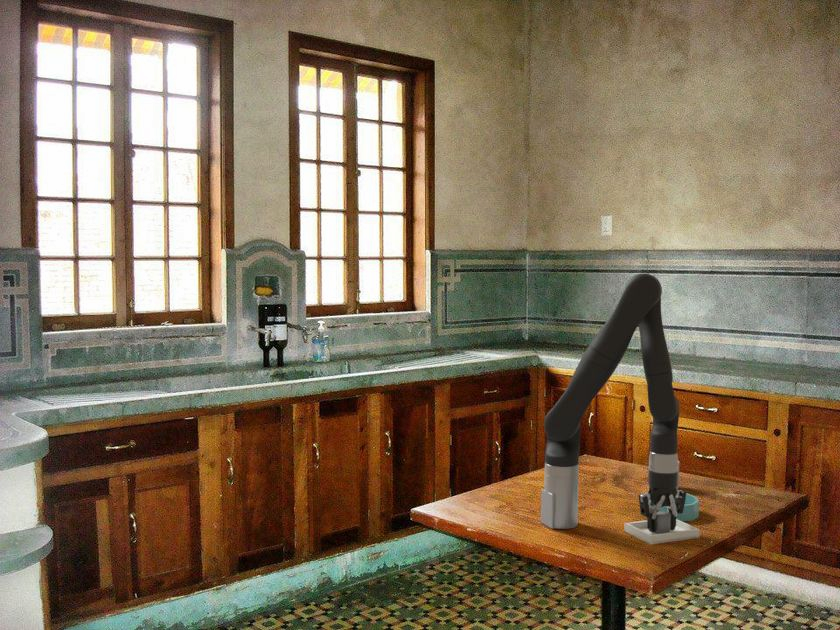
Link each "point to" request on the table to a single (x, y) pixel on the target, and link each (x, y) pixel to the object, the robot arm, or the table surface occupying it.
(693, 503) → the bowl
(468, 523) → the table surface
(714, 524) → the table surface
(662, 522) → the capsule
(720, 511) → the table surface
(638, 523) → the tray
